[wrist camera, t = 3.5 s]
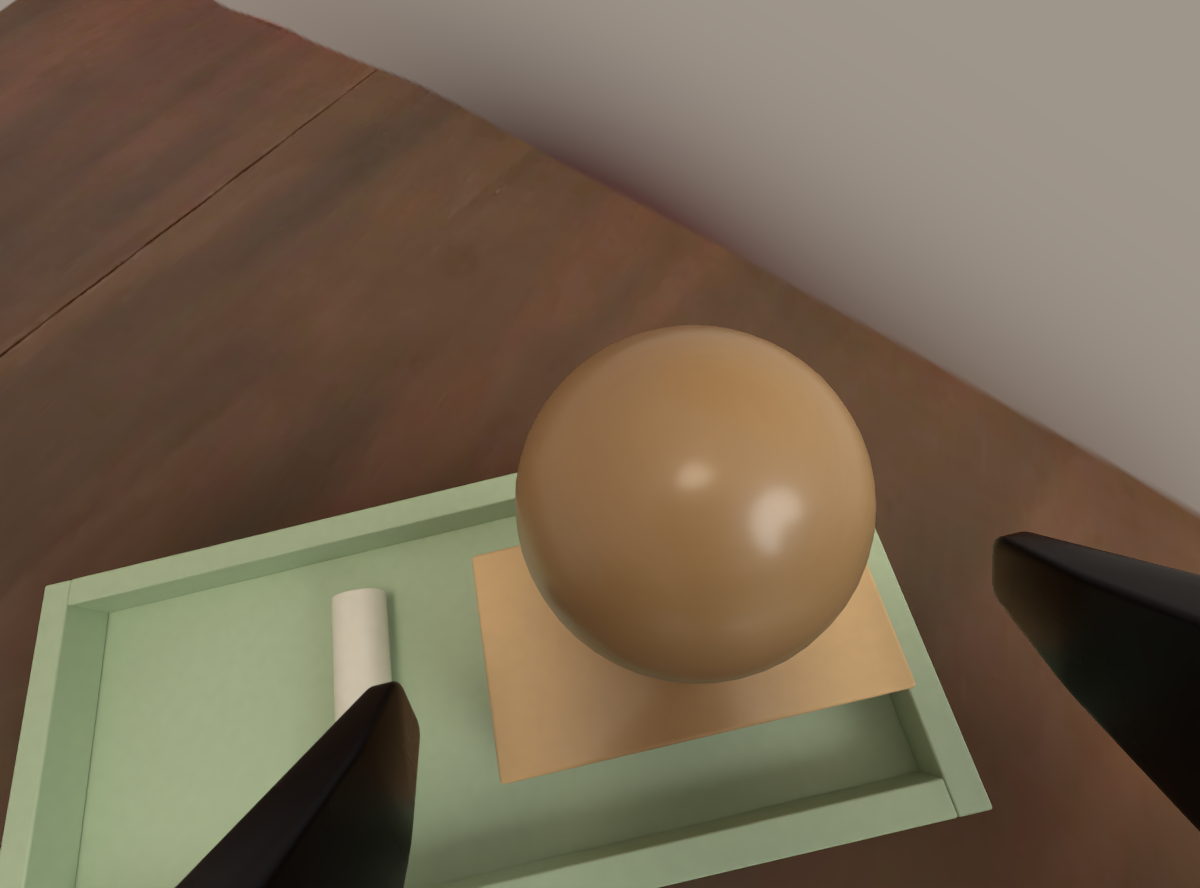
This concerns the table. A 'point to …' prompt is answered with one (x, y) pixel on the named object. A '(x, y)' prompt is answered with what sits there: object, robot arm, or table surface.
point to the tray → (445, 716)
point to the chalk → (359, 645)
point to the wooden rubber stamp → (682, 556)
